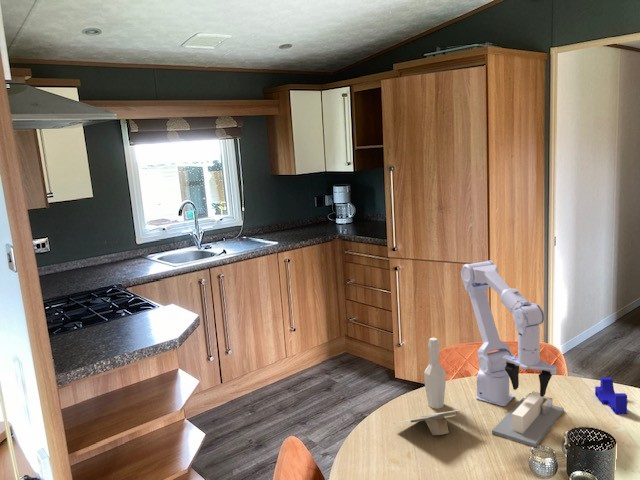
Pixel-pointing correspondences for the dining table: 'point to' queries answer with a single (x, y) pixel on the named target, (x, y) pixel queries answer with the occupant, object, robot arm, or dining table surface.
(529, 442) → the grey base plate
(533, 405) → the white rail
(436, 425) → the tilted plate on foot
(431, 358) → the low poly bottle
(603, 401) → the blue stepped block
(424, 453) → the dining table surface
